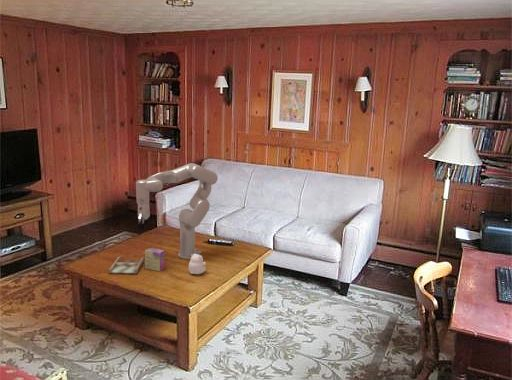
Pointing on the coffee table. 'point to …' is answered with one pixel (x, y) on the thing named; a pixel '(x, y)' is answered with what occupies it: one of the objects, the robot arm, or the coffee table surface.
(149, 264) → the box
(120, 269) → the rack
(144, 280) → the coffee table surface
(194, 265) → the figurine
